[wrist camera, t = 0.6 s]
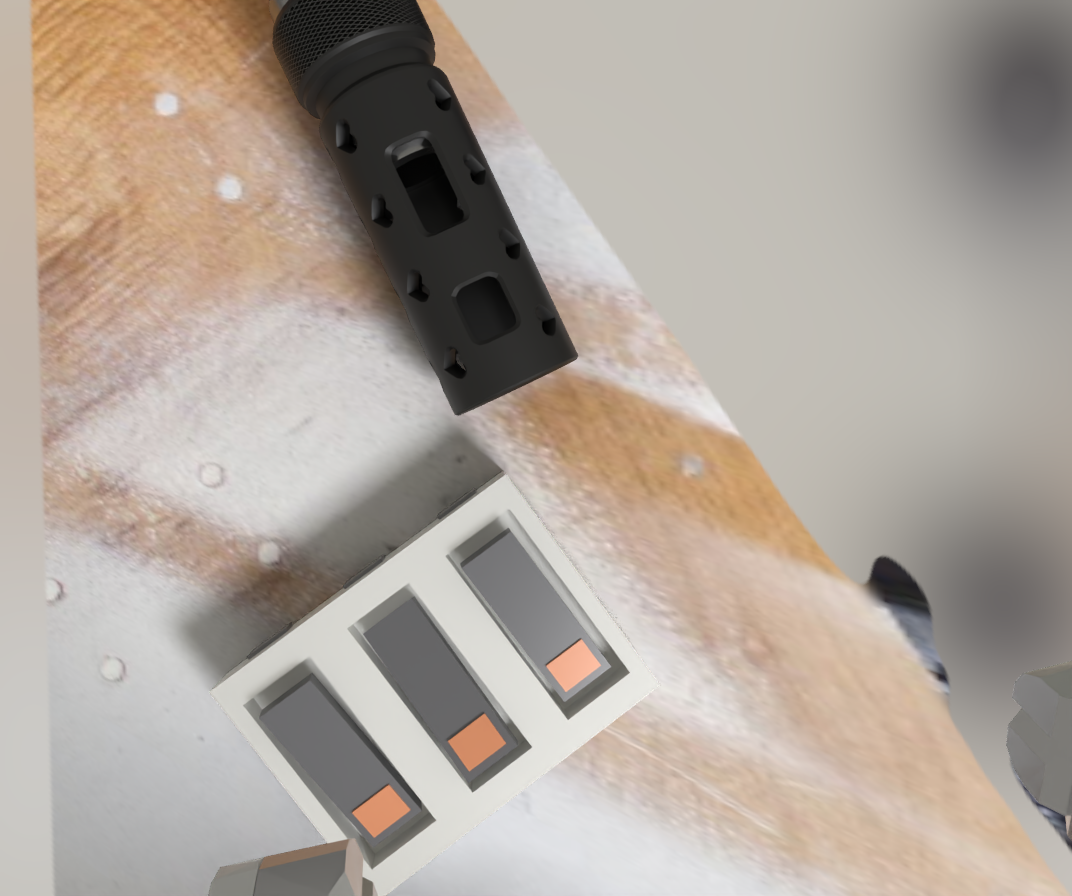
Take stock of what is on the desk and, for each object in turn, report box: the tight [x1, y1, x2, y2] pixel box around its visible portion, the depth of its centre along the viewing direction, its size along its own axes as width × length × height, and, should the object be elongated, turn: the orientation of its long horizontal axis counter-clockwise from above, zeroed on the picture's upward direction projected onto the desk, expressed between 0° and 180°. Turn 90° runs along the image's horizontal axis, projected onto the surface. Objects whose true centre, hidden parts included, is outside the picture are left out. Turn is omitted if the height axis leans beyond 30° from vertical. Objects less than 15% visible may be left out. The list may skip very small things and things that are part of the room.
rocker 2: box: [460, 528, 611, 702], centre depth 54 cm, size 12×4×1 cm, turn 36°
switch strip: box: [209, 471, 661, 896], centre depth 55 cm, size 18×24×4 cm
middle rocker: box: [363, 596, 518, 783], centre depth 53 cm, size 12×4×1 cm, turn 36°
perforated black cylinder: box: [269, 0, 578, 415], centre depth 52 cm, size 10×28×10 cm, turn 26°
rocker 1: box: [259, 673, 422, 848], centre depth 53 cm, size 12×4×1 cm, turn 36°
